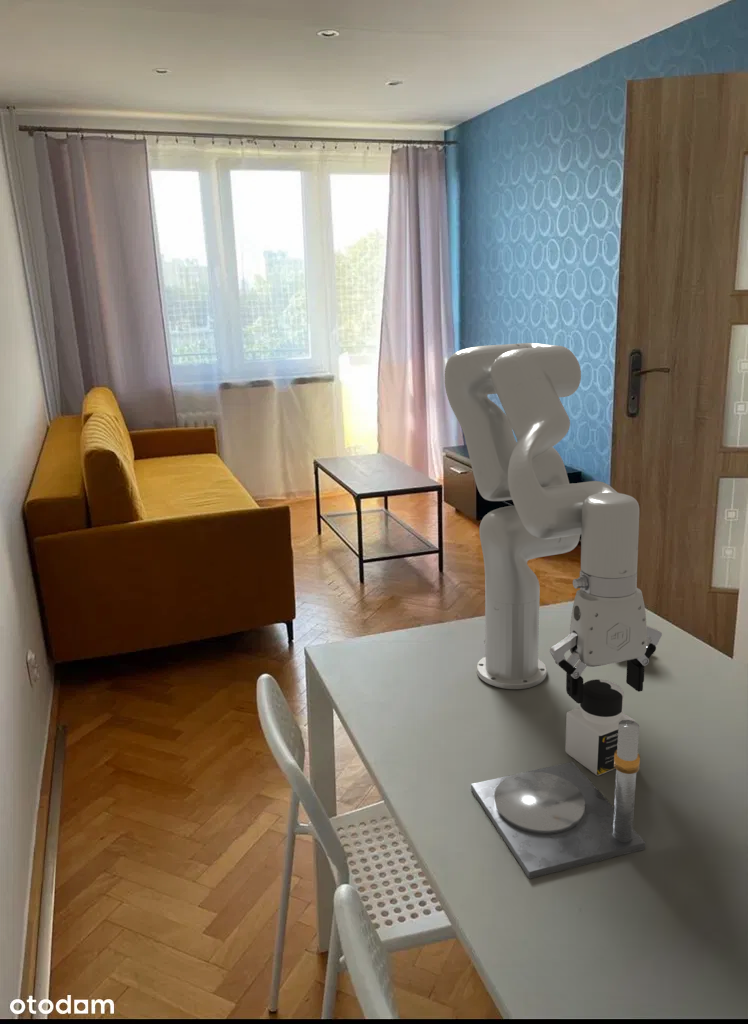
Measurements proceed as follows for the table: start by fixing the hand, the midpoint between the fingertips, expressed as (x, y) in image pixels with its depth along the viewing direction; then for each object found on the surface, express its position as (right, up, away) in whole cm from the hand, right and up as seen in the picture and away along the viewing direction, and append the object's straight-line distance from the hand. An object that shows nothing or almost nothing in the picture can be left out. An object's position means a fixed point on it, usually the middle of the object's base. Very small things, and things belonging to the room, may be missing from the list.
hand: (605, 693), depth 113 cm
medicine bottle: (0, -11, +4) cm, 11 cm away
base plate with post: (-10, -15, -9) cm, 20 cm away
